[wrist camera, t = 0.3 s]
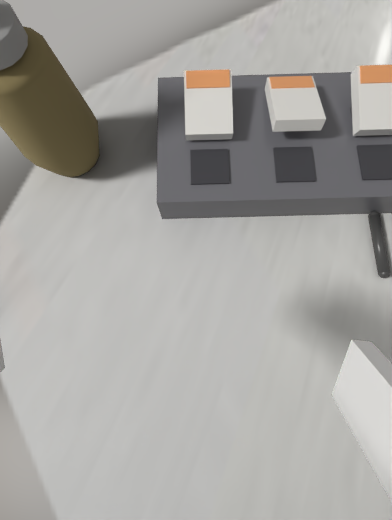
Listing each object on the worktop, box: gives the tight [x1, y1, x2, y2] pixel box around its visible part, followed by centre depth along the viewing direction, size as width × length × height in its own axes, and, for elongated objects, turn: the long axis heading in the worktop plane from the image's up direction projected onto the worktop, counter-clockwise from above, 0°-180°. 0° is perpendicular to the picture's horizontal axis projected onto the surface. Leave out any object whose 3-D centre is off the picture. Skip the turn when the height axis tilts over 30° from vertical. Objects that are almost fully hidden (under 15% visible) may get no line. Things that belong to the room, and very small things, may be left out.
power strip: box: [157, 72, 392, 278], centre depth 29 cm, size 21×26×5 cm
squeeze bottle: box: [0, 0, 99, 177], centre depth 23 cm, size 8×8×18 cm
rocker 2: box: [351, 64, 392, 136], centre depth 27 cm, size 6×4×1 cm
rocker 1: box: [184, 69, 233, 140], centre depth 27 cm, size 6×4×1 cm
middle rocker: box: [265, 76, 326, 132], centre depth 27 cm, size 6×4×1 cm
